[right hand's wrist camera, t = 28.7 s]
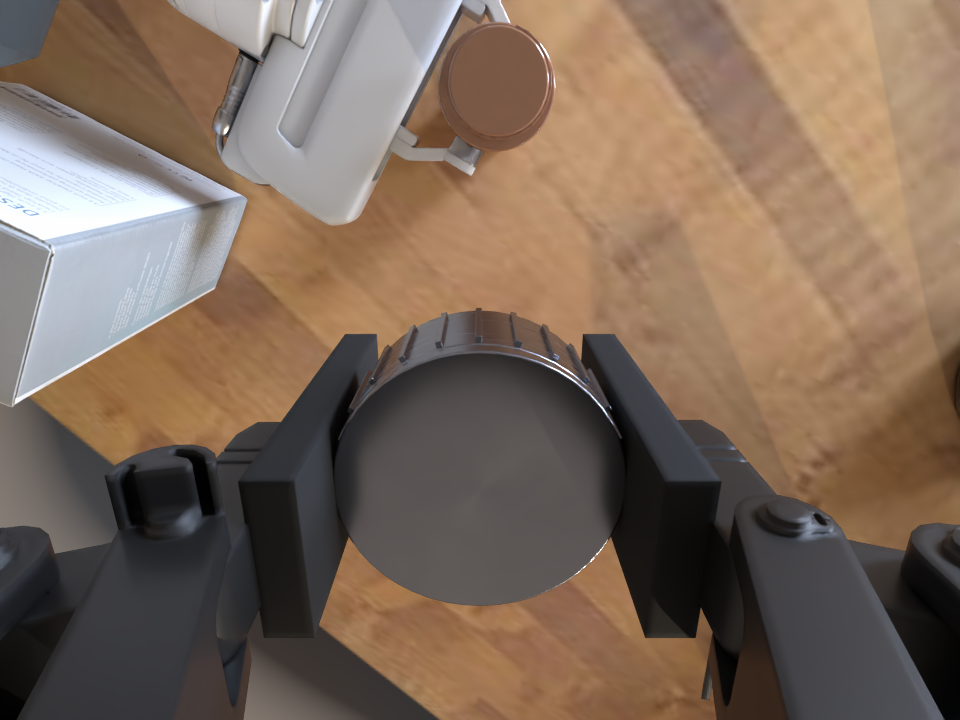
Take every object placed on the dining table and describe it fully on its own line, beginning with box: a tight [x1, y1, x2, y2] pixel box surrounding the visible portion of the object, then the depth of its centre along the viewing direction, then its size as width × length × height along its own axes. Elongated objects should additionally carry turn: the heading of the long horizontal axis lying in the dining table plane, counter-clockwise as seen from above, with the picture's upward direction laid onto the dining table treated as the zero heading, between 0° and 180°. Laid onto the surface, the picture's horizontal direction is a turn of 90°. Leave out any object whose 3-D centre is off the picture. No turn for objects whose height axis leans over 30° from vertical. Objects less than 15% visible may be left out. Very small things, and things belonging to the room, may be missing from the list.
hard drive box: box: [0, 81, 247, 407], centre depth 30 cm, size 16×8×20 cm, turn 63°
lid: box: [333, 308, 627, 606], centre depth 11 cm, size 5×5×2 cm
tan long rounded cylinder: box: [438, 22, 555, 151], centre depth 29 cm, size 4×4×20 cm
